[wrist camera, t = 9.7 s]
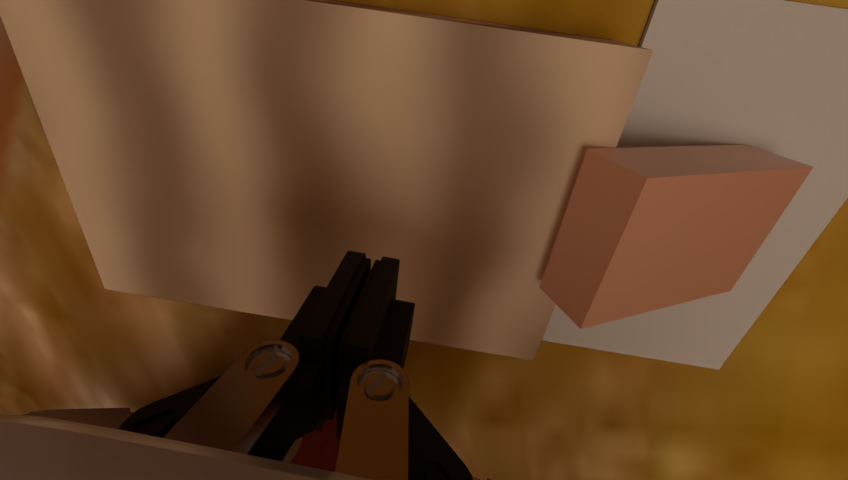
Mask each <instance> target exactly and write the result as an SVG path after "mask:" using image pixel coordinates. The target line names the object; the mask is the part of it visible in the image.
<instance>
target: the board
mask: <svg viewBox="0 0 848 480" xmlns="http://www.w3.org/2000/svg"><path fill="white" fill-rule="evenodd" d="M0 16H1V18H2V21H3V24H4V26H5V29H6V31H7V34H8V37H9V39H10V42H11V44H12V47H13V49H14V52H15V55H16V58H17V60H18V63H19V65H20V68H21V71H22V73H23V76H24V79H25V81H26V84H27V86H28V89H29V92H30V94H31V97H32V99H33V102H34V105H35V107H36V110H37V113H38V115H39V118H40V120H41V123H42V126H43V128H44V131H45V133H46V136H47V139H48V141H49V144H50V147H51V149H52V152H53V154H54V157H55V160H56V162H57V165H58V167H59V170H60V173H61V175H62V178H63V181H64V183H65V186H66V188H67V191H68V194H69V196H70V199H71V201H72V204H73V207H74V209H75V212H76V215H77V217H78V220H79V222H80V225H81V228H82V230H83V233H84V236H85V238H86V241H87V243H88V246H89V249H90V251H91V254H92V256H93V259H94V262H95V264H96V267H97V270H98V272H99V275H100V277H101V280H102V283H103V285H104V288H105V289H109V290H115V291H121V292H126V293H132V294H138V295H144V296H150V297H156V298H162V299H168V300H174V301H180V302H186V303H192V304H198V305H204V306H210V307H216V308H222V309H228V310H234V311H240V312H246V313H252V314H258V315H264V316H270V317H276V318H282V319H288V320H293V319H294V317H295V316H296V314H297V312H298V311H299V309H300V308H301V306H302V304H303V303H304V301H305V300H306V298H307V296H308V295H309V293H310V292H311V290H312V289H313V287H314V286H316V285H317V286H322V287H327V286H328V284H329V282H330V280H331V279H332V277H333V275H334V273H335V272H336V270H337V268H338V267H339V265H340V263H341V261H342V260H343V258H344V256H345V254H346V253H347V251H355V252H361V253H365V254H366V258H369V259H371V268H372V266H373V264H374V262H375V260H381V259H382V257H383V256H384V257H390V258H395V259H399V260H400V264H399V273H398V282H397V291H396V300H401V301H406V302H412V303H415V309H414V316H413V323H412V329H411V335H410V340H413V341H419V342H425V343H431V344H437V345H443V346H449V347H455V348H461V349H467V350H473V351H479V352H485V353H491V354H497V355H502V356H508V357H514V358H520V359H526V360H532V361H534V359H535V357H536V354H537V352H538V349H539V346H540V344H541V341H542V339H543V336H544V333H545V331H546V328H547V326H548V323H549V320H550V318H551V315H552V313H553V310H554V307H555V305H556V304H555V303H554V302H553V301H552V300H551V299H550V298H549V297H548V296H547V295H546V294H545V293H544V292H543V291H542V290H541V289H540V288H539V287H540V284H541V281H542V279H543V276H544V273H545V270H546V267H547V264H548V261H549V258H550V255H551V252H552V250H553V247H554V244H555V241H556V238H557V235H558V232H559V229H560V226H561V223H562V221H563V218H564V215H565V212H566V209H567V206H568V203H569V200H570V197H571V194H572V192H573V189H574V186H575V183H576V180H577V177H578V174H579V171H580V168H581V165H582V163H583V160H584V157H585V154H586V151H587V149H588V148H616V146H617V144H618V141H619V139H620V136H621V133H622V131H623V128H624V126H625V123H626V120H627V118H628V115H629V113H630V110H631V107H632V105H633V102H634V100H635V97H636V94H637V92H638V89H639V87H640V84H641V81H642V79H643V76H644V74H645V71H646V68H647V66H648V63H649V61H650V58H651V55H652V53H653V50H650V49H646V48H642V47H638V46H634V45H630V44H626V43H622V42H618V41H614V40H608V39H601V38H594V37H587V36H580V35H573V34H566V33H559V32H552V31H545V30H538V29H531V28H524V27H517V26H510V25H503V24H496V23H489V22H482V21H475V20H468V19H461V18H454V17H447V16H440V15H433V14H426V13H419V12H412V11H405V10H398V9H391V8H384V7H377V6H370V5H363V4H356V3H349V2H342V1H335V0H0Z"/></svg>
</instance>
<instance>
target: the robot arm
mask: <svg viewBox="0 0 848 480" xmlns="http://www.w3.org/2000/svg"><path fill="white" fill-rule="evenodd" d="M399 264H400V260H399V259H395V258H390V257H384V256H383V257H382V259H381V260H375V262H374V264H373V266H372V268H371V259H369V258H366V254H365V253H361V252H355V251H347V253H346V254H345V256H344V258H343V260H342V261H341V263H340V265H339V267H338V268H337V270H336V272H335V273H334V275H333V277H332V279H331V280H330V282H329V284H328V286H327V287H322V286H317V285H316V286H314V287H313V289H312V290H311V292H310V293H309V295H308V296H307V298H306V300H305V301H304V303H303V304H302V306H301V308H300V309H299V311H298V312H297V314H296V316H295V317H294V319H293V320H292V322H291V324H290V325H289V327H288V328H287V330H286V331H285V333H284V335H283V336H282V338H281V339H280V340H268V341H264V342H260V343H258V344H256V345H254V346H251V347H250V348H249V349H248V350H246V351H245V352H244V353H243V354H242V355H241V356H240V357H239V358H238V359H237V360H236V361H235V362H234V363H233V364H232V365H231V367H230V368H229V369H228V370H227V371H226V372H225V373H224V374H223V375H222V376H220V377H218V378H215V379H213V380H210V381H208V382H205V383H202V384H200V385H197V386H195V387H192V388H189V389H187V390H184V391H182V392H179V393H177V394H174V395H171V396H169V397H166V398H164V399H161V400H159V401H156V402H153V403H151V404H149V405H147V406H145V407H143V408H141V409H139V410H137V411H136V412H131V411H130V408H92V409H45V410H38V411H32V412H29V413H27V414H24V415H8V414H0V480H480V479H477V478H475V477H473V476H472V475H471V473H470V472H469V470H468V468H467V467H466V465H465V464H464V463H463V462H462V460H461V459H460V458H459V457H458V456H457V454H456V453H455V452H454V451H453V449H452V448H451V447H450V446H449V445H448V443H447V442H446V441H445V440H444V439H443V437H442V436H441V435H440V434H439V432H438V431H437V430H436V429H435V428H434V426H433V425H432V424H431V423H430V421H429V420H428V419H427V418H426V417H425V415H424V414H423V413H422V412H421V411H420V409H419V408H418V407H417V406H416V404H415V403H414V402H413V401H412V400H411V398H410V397H409V381H408V376H407V374H406V373H405V371H404V370H403V368H404V363H405V359H406V354H407V350H408V345H409V340H410V335H411V329H412V323H413V316H414V309H415V303H412V302H406V301H401V300H396V291H397V282H398V273H399ZM336 409H337V437H338V439H339V440H340V446H339V452H338V458H337V463H336V469H335V472H332V471H327V470H322V469H317V468H312V467H307V466H302V465H297V464H292V463H290V462H291V461H292V459H293V457H294V455H295V454H296V452H297V450H298V449H299V447H300V444H301V442H302V437H303V436H304V435H306V434H308V433H310V432H312V431H313V430H318V431H322V428H323V426H324V423H325V421H326V419H328V420H332V419H333V417H334V415H335V412H336ZM487 480H490V479H488V478H487Z"/></svg>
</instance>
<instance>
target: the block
mask: <svg viewBox="0 0 848 480" xmlns="http://www.w3.org/2000/svg"><path fill="white" fill-rule="evenodd" d="M812 169H813V167H812V166H809V165H806V164H803V163H800V162H797V161H794V160H791V159H788V158H786V157H783V156H780V155H777V154H774V153H771V152H768V151H765V150H762V149H759V148H756V147H753V146H750V145H712V146H670V147H629V148H588V149H587V151H586V154H585V157H584V160H583V163H582V165H581V168H580V171H579V174H578V177H577V180H576V183H575V186H574V189H573V192H572V194H571V197H570V200H569V203H568V206H567V209H566V212H565V215H564V218H563V221H562V223H561V226H560V229H559V232H558V235H557V238H556V241H555V244H554V247H553V250H552V252H551V255H550V258H549V261H548V264H547V267H546V270H545V273H544V276H543V279H542V281H541V284H540V287H539V288H540V289H541V290H542V291H543V292H544V293H545V294H546V295H547V296H548V297H549V298H550V299H551V300H552V301H553V302H554V303H555V304H556V305H557V306H558V307H559V308H560V309H561V310H562V311H563V312H564V313H565V314H566V315H567V316H568V317H569V318H570V319H571V320H572V321H573V322H574V323H575V324H576V325H577V326H578V327H579V328H580V329H583V328H587V327H591V326H595V325H599V324H603V323H606V322H610V321H614V320H618V319H622V318H626V317H630V316H634V315H638V314H642V313H646V312H650V311H653V310H657V309H661V308H665V307H669V306H673V305H677V304H681V303H685V302H689V301H693V300H697V299H700V298H704V297H708V296H712V295H716V294H720V293H724V292H728V291H731V290H732V288H733V287H734V285H735V284H736V282H737V281H738V279H739V278H740V276H741V275H742V273H743V272H744V270H745V269H746V267H747V266H748V264H749V263H750V261H751V260H752V258H753V257H754V255H755V254H756V252H757V251H758V249H759V248H760V246H761V245H762V243H763V242H764V240H765V239H766V237H767V236H768V234H769V233H770V231H771V230H772V228H773V227H774V225H775V224H776V222H777V221H778V219H779V218H780V216H781V215H782V214H783V212H784V211H785V209H786V208H787V206H788V205H789V203H790V202H791V200H792V199H793V197H794V196H795V194H796V193H797V191H798V190H799V188H800V187H801V185H802V184H803V182H804V181H805V179H806V178H807V176H808V175H809V173H810V172H811V170H812Z"/></svg>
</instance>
